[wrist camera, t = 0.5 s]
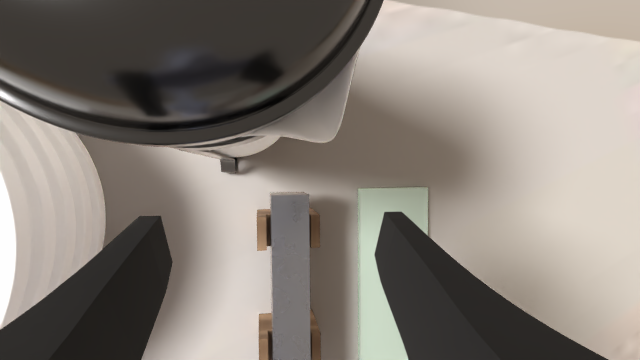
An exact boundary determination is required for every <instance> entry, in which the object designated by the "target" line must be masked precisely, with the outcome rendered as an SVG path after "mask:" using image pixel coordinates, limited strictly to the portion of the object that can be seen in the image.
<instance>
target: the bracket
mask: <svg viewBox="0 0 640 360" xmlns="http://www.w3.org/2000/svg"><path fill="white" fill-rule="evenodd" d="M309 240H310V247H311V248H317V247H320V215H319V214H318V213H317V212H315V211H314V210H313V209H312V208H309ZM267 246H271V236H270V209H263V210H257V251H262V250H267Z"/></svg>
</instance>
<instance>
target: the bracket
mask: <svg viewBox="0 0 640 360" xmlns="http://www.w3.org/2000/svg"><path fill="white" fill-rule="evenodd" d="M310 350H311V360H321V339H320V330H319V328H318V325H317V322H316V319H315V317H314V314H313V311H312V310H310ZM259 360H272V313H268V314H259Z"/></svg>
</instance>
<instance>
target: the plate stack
mask: <svg viewBox="0 0 640 360" xmlns="http://www.w3.org/2000/svg"><path fill="white" fill-rule="evenodd" d="M105 227H106V210H105V201H104V194H103V189H102V185H101V182H100V178H99V175H98V173H97V170H96V167H95V165H94V163H93V161H92V159H91V157H90V155H89V153H88V151H87V149H86V147H85V146H84V144H83V143H82V141H81V140H80V138H79V137H78V136H77V134H76V133H75V132H72V131H69V130H65V129H62V128H59V127H57V126H54V125H51V124H48V123H46V122H43V121H41V120H39V119H36V118H34V117H32V116H29V115H27V114H25V113H23V112H21V111H19V110H17V109H15V108H13V107H11V106H9V105H7V104H5V103H3V102H2V101H0V329H2V328H3V327H5V326H6V325H8V324H9V323H10V322H12V321H13V320H15V319H16V318H18V317H19V316H20V315H22V314H23V313H25V312H26V311H27V310H29V309H30V308H31V307H33V306H34V305H35V304H37V303H38V302H39V301H41V300H42V299H43V298H45V297H46V296H47V295H48V294H50V293H51V292H52V291H53V290H55V289H56V288H57V287H58V286H60V285H61V284H62V283H63V282H65V281H66V280H67V279H68V278H70V277H71V276H72V275H73V274H74V273H76V272H77V271H78V270H79V269H81V268H82V267H83V266H84V265H85V264H86V263H88V262H89V261H90V260H91V259H92V258H93V257H95V256H96V255H97V254H98V253H99V252H100V251H101V250H102V248H103V243H104V237H105Z"/></svg>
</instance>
